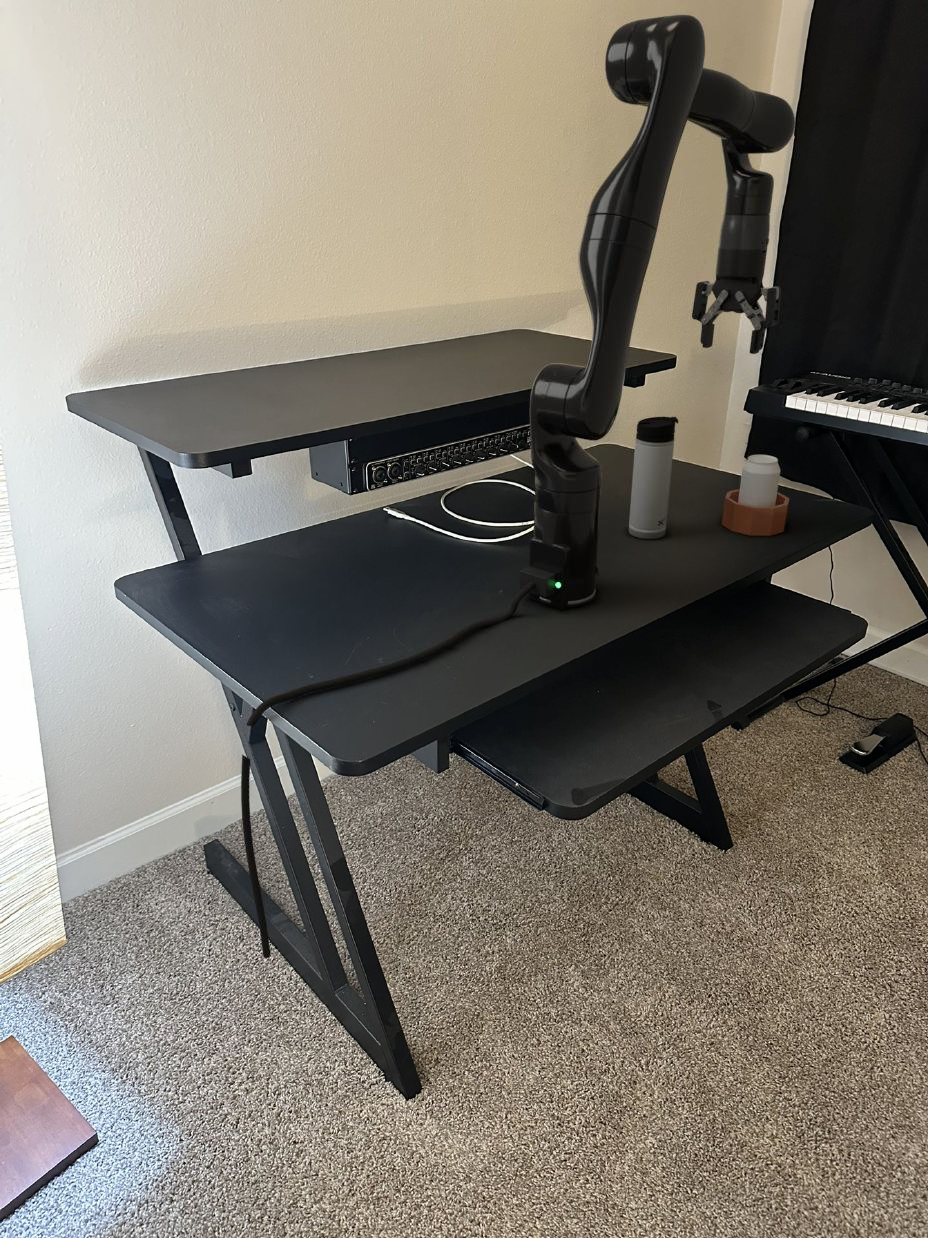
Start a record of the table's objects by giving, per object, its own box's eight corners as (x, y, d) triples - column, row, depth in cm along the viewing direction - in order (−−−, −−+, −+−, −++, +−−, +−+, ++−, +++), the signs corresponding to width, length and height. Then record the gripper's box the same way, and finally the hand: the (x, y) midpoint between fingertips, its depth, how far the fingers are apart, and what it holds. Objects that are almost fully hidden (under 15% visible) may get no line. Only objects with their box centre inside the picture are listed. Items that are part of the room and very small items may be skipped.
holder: (771, 540, 151) (775, 512, 149) (711, 526, 158) (714, 499, 155) (795, 523, 158) (799, 496, 156) (737, 510, 165) (740, 484, 162)
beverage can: (746, 516, 162) (755, 451, 156) (778, 524, 158) (788, 458, 152) (728, 524, 158) (737, 458, 153) (760, 533, 154) (770, 466, 149)
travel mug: (670, 539, 152) (681, 422, 143) (631, 539, 152) (640, 422, 143) (663, 526, 158) (674, 413, 149) (626, 526, 158) (634, 413, 149)
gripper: (690, 244, 144) (681, 348, 151) (775, 248, 136) (760, 358, 143) (713, 241, 149) (703, 342, 156) (796, 245, 141) (780, 351, 148)
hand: (730, 350), depth 150 cm, fingers open, 8 cm apart
